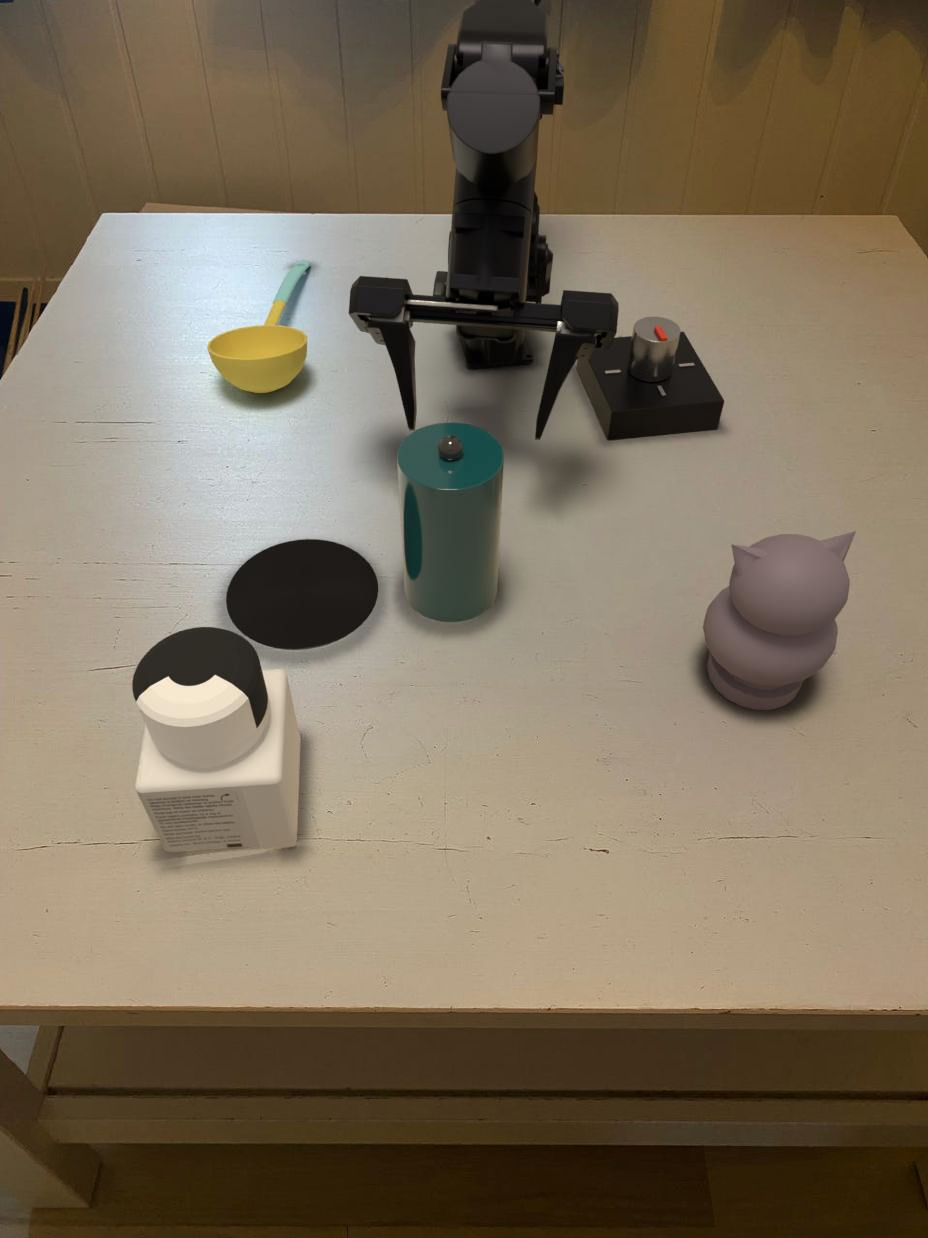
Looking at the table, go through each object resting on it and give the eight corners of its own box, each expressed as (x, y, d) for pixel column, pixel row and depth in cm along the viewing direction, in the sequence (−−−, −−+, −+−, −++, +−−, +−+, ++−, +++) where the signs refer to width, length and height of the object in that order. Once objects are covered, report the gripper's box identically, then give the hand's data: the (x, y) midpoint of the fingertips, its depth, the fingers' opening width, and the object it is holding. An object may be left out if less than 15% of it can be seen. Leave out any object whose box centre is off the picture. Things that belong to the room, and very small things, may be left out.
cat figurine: (711, 728, 62) (755, 605, 53) (675, 637, 67) (710, 511, 58) (834, 712, 63) (898, 589, 54) (790, 624, 68) (841, 498, 59)
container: (180, 748, 60) (128, 613, 51) (302, 740, 61) (273, 605, 51) (165, 858, 55) (104, 732, 46) (298, 849, 56) (265, 722, 46)
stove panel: (576, 368, 89) (579, 338, 87) (678, 358, 90) (684, 329, 88) (607, 440, 82) (612, 410, 79) (717, 429, 83) (725, 399, 81)
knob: (621, 358, 85) (628, 315, 81) (664, 354, 85) (672, 311, 82) (634, 384, 82) (642, 340, 79) (678, 379, 83) (687, 336, 79)
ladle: (204, 408, 83) (191, 343, 79) (271, 312, 104) (263, 258, 101) (303, 408, 82) (294, 343, 79) (350, 312, 104) (345, 258, 100)
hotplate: (227, 554, 72) (225, 547, 71) (370, 539, 73) (370, 531, 73) (228, 666, 65) (226, 658, 64) (387, 646, 66) (386, 638, 66)
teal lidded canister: (389, 579, 71) (378, 423, 60) (470, 550, 73) (473, 394, 62) (429, 641, 67) (424, 486, 56) (513, 609, 69) (524, 453, 58)
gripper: (610, 258, 75) (593, 456, 76) (378, 242, 76) (364, 438, 77) (628, 206, 64) (607, 439, 65) (355, 189, 65) (339, 418, 66)
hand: (474, 434), depth 68 cm, fingers open, 9 cm apart
